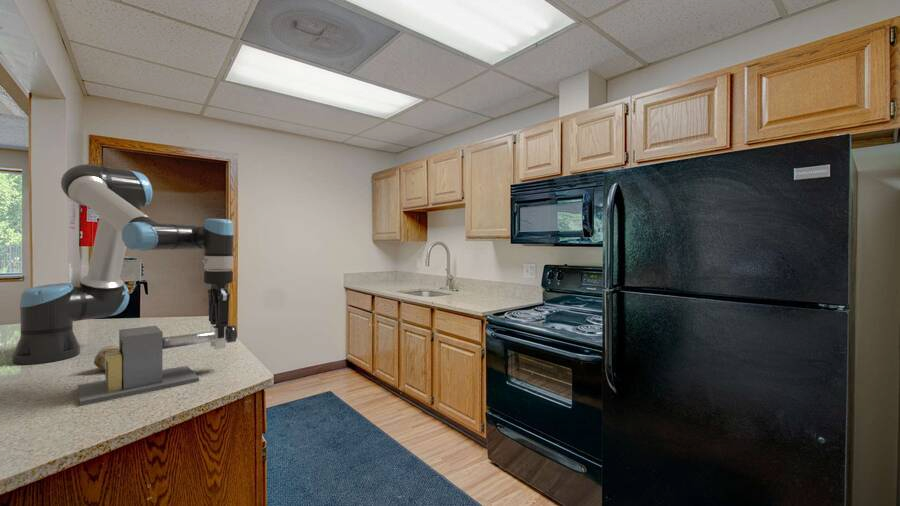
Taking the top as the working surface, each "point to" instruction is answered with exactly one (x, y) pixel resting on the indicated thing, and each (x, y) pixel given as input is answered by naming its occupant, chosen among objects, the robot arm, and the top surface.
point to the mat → (169, 379)
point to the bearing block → (141, 356)
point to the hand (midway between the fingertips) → (218, 346)
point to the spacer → (113, 369)
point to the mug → (102, 357)
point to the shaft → (198, 338)
